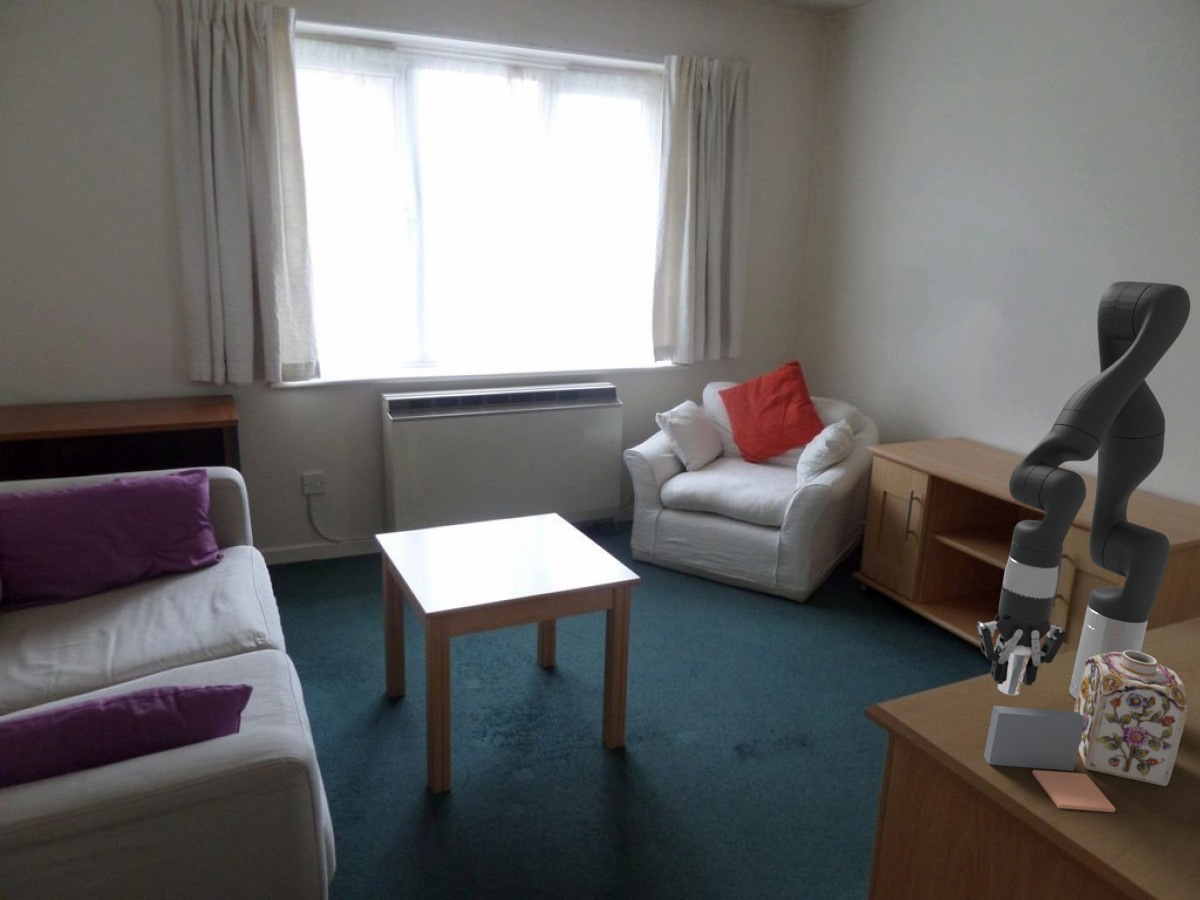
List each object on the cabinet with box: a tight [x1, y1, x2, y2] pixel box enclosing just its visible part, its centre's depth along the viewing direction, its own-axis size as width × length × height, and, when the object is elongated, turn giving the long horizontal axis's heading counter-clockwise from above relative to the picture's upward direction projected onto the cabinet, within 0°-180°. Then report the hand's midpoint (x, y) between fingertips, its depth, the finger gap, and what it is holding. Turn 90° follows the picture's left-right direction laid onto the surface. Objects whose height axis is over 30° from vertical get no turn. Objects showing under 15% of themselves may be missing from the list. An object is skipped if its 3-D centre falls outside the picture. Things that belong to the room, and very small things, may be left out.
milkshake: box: [997, 641, 1032, 697], centre depth 135 cm, size 4×5×10 cm
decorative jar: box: [1073, 650, 1189, 787], centre depth 129 cm, size 12×12×18 cm
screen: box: [983, 705, 1085, 772], centre depth 128 cm, size 13×2×9 cm, turn 88°
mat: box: [1032, 769, 1116, 813], centre depth 122 cm, size 8×8×1 cm
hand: (1011, 682), depth 135 cm, fingers closed on milkshake, 4 cm apart
